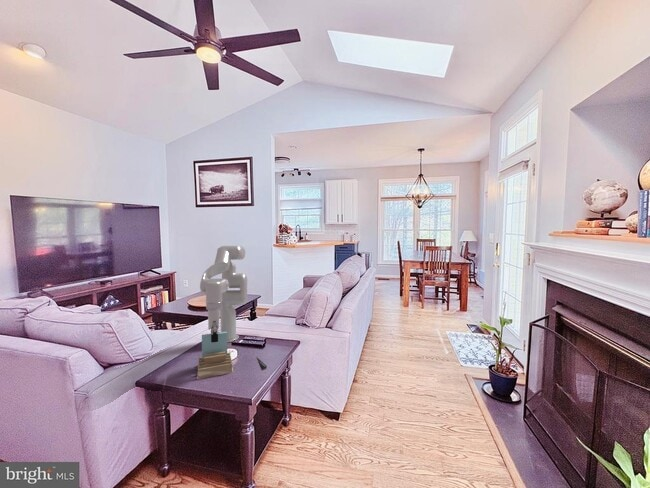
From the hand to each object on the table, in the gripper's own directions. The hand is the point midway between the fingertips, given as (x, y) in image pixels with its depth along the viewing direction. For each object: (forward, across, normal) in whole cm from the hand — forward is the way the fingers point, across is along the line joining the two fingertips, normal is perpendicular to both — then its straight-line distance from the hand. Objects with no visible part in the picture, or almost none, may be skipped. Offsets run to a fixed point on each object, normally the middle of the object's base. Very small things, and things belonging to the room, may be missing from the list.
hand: (214, 338), depth 142 cm
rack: (+15, +4, 0) cm, 15 cm away
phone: (+15, +5, +19) cm, 25 cm away
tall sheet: (+14, -1, 0) cm, 14 cm away
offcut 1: (+14, +2, 0) cm, 14 cm away
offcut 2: (+14, +6, 0) cm, 15 cm away
